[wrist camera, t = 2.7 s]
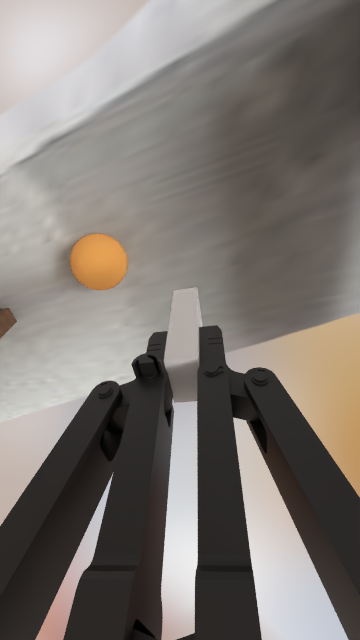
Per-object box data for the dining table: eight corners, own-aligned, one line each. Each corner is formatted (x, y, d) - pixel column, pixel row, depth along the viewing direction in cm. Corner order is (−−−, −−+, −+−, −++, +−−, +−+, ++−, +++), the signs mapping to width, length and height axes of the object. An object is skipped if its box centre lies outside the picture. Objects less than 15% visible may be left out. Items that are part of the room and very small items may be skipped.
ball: (124, 222, 28) (110, 240, 24) (137, 272, 31) (127, 297, 27) (73, 230, 29) (50, 249, 25) (91, 278, 32) (73, 303, 28)
